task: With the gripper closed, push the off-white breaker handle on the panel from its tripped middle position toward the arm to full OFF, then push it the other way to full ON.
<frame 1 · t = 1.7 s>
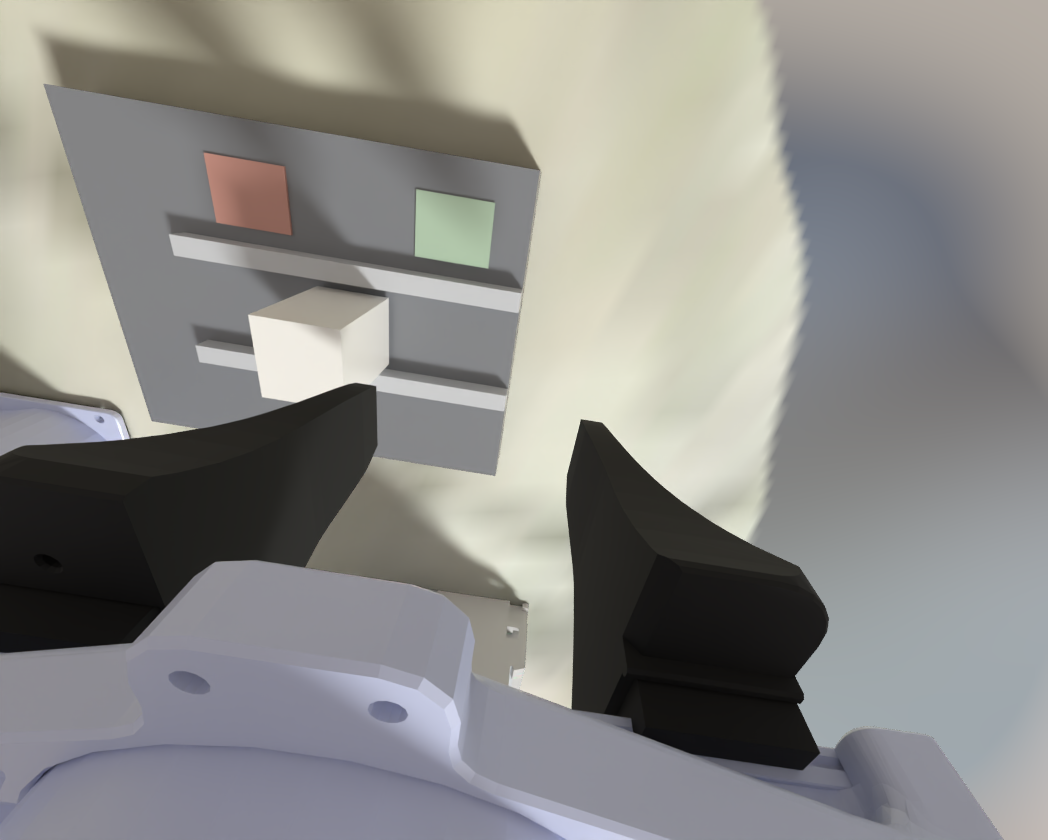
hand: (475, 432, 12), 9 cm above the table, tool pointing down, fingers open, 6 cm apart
circuit breaker: (428, 620, 32), on the table
breaker handle: (330, 343, 16), point 5 cm above the table, slide at 0.0 cm
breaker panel: (333, 306, 20), on the table
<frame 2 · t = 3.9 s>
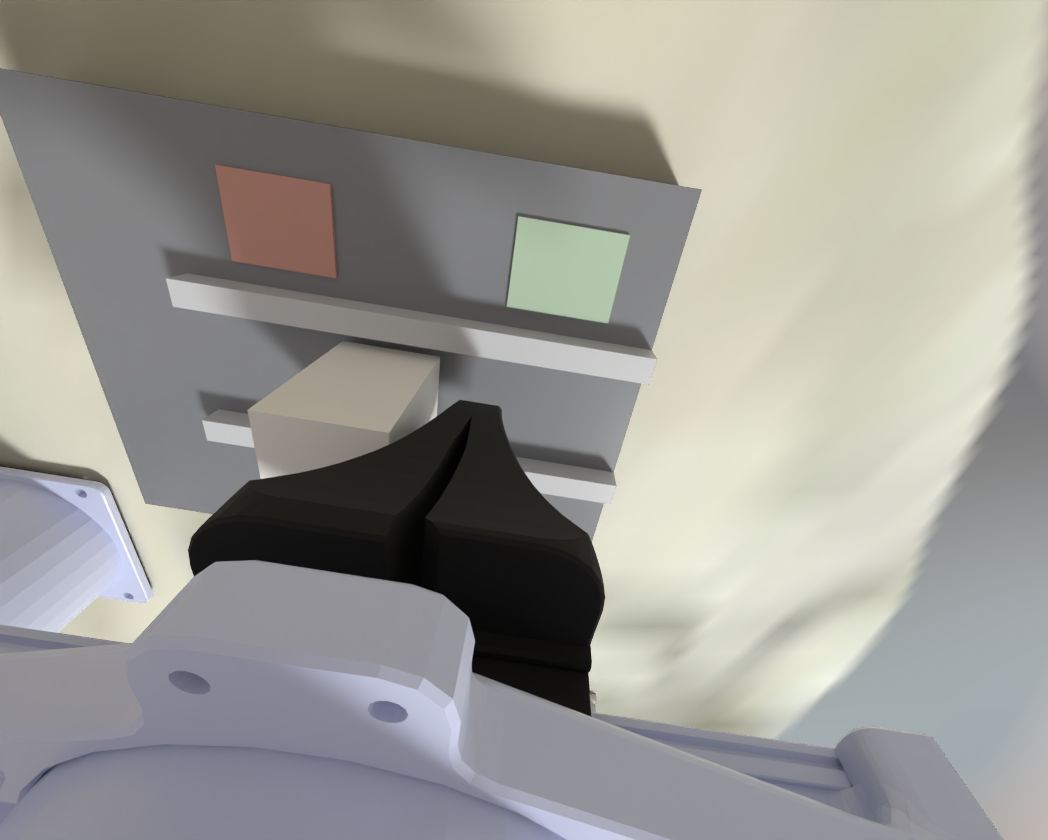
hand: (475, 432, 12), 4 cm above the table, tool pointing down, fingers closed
breaker handle: (363, 427, 12), point 5 cm above the table, slide at -0.8 cm, touching gripper
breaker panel: (380, 361, 16), on the table
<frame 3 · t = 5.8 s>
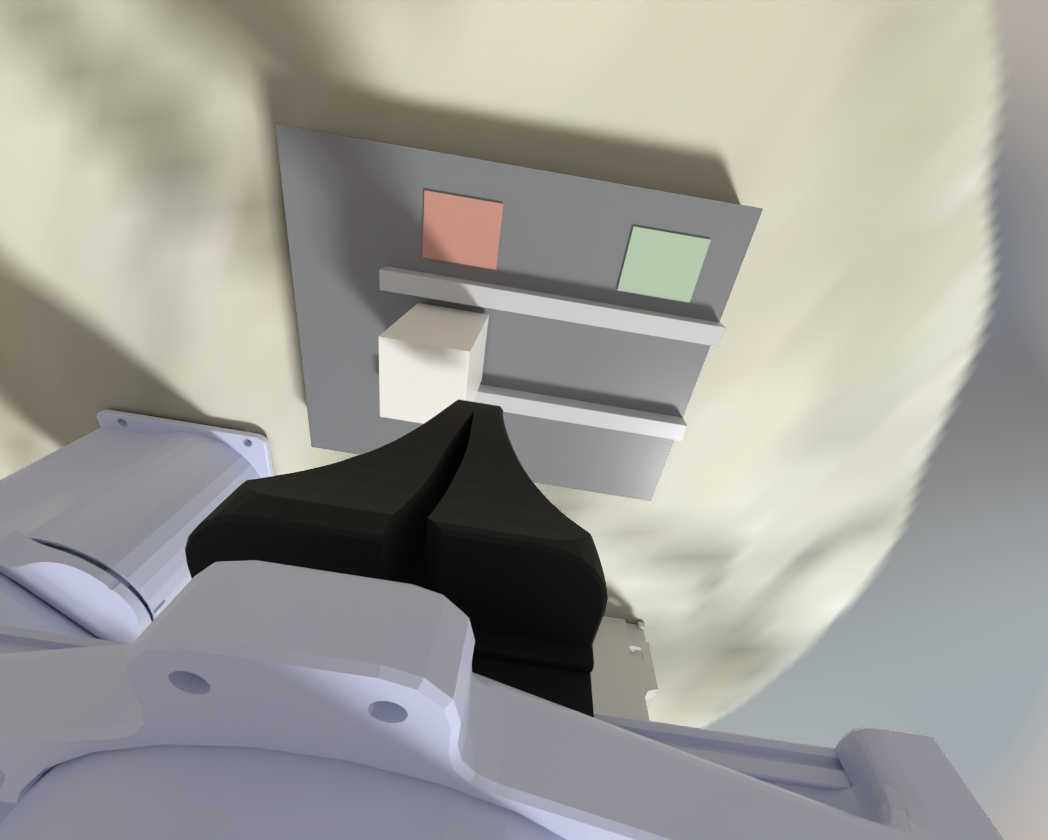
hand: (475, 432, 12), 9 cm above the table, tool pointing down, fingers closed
circuit breaker: (536, 637, 32), on the table
breaker handle: (438, 361, 16), point 5 cm above the table, slide at -4.1 cm
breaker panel: (503, 334, 21), on the table
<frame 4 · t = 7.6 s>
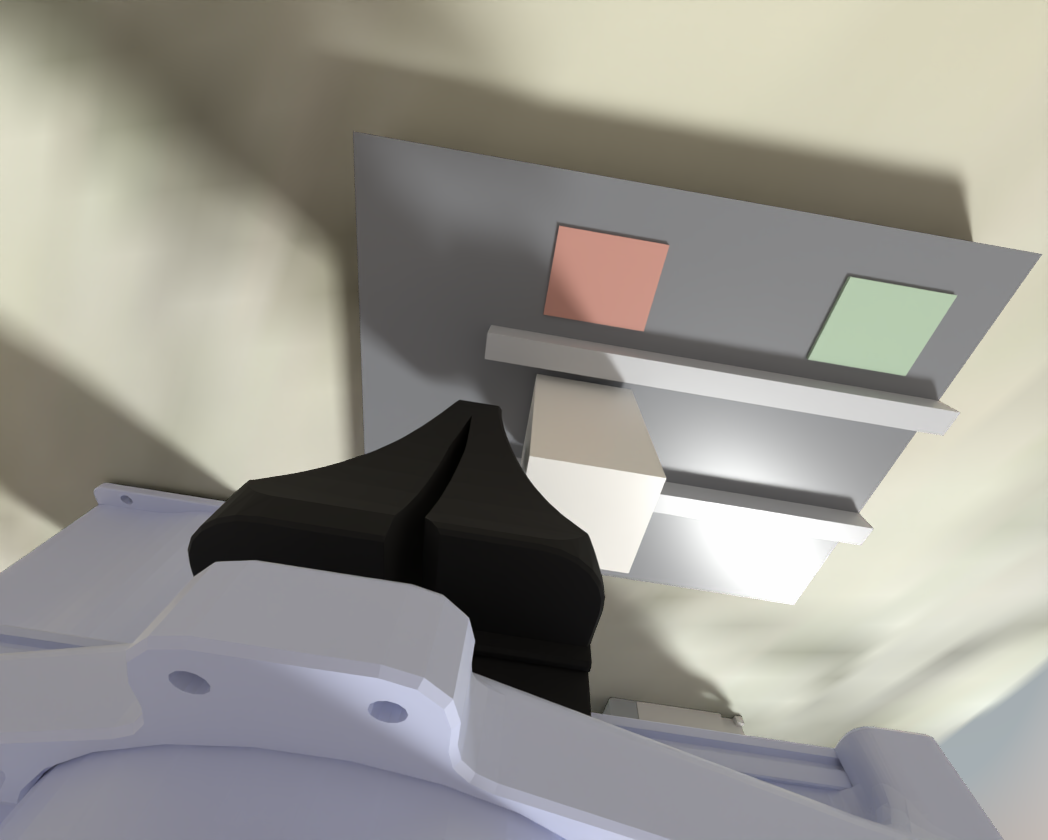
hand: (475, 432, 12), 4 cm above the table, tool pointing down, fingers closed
circuit breaker: (610, 727, 27), on the table
breaker handle: (577, 463, 12), point 5 cm above the table, slide at -3.9 cm, touching gripper
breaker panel: (620, 401, 16), on the table
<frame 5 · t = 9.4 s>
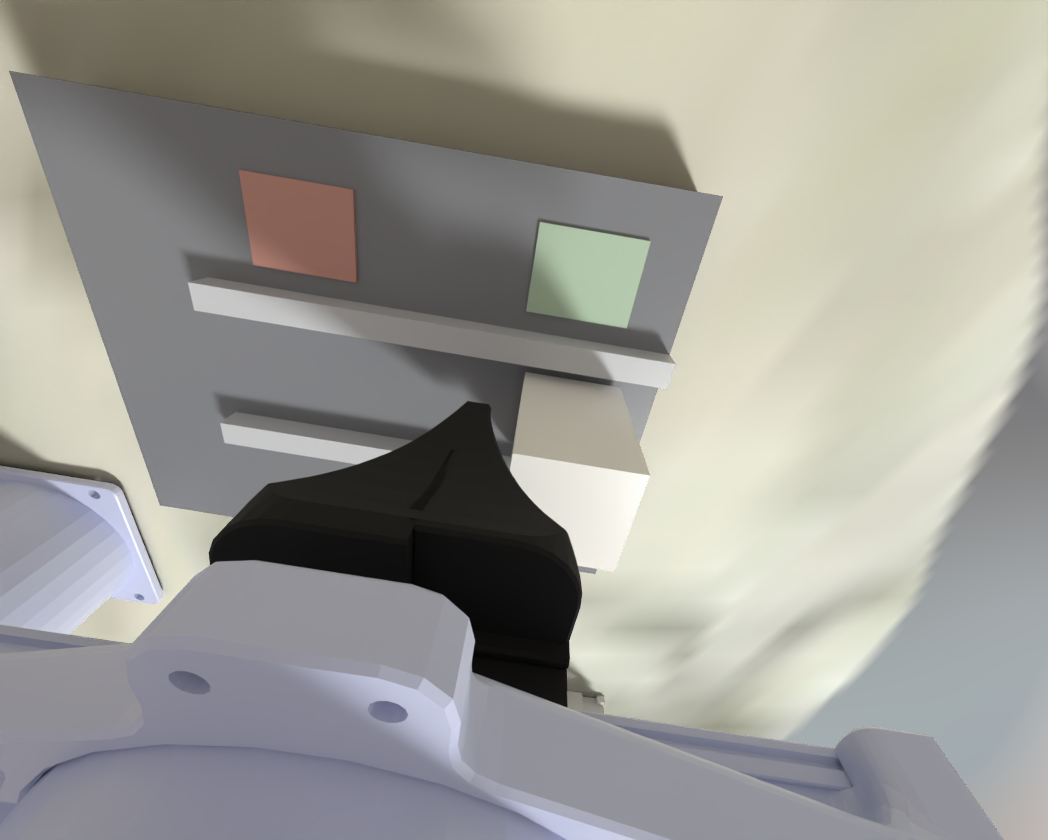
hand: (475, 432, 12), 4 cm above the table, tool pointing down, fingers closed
circuit breaker: (480, 708, 27), on the table
breaker handle: (565, 461, 12), point 5 cm above the table, slide at 4.3 cm, touching gripper
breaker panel: (396, 364, 16), on the table
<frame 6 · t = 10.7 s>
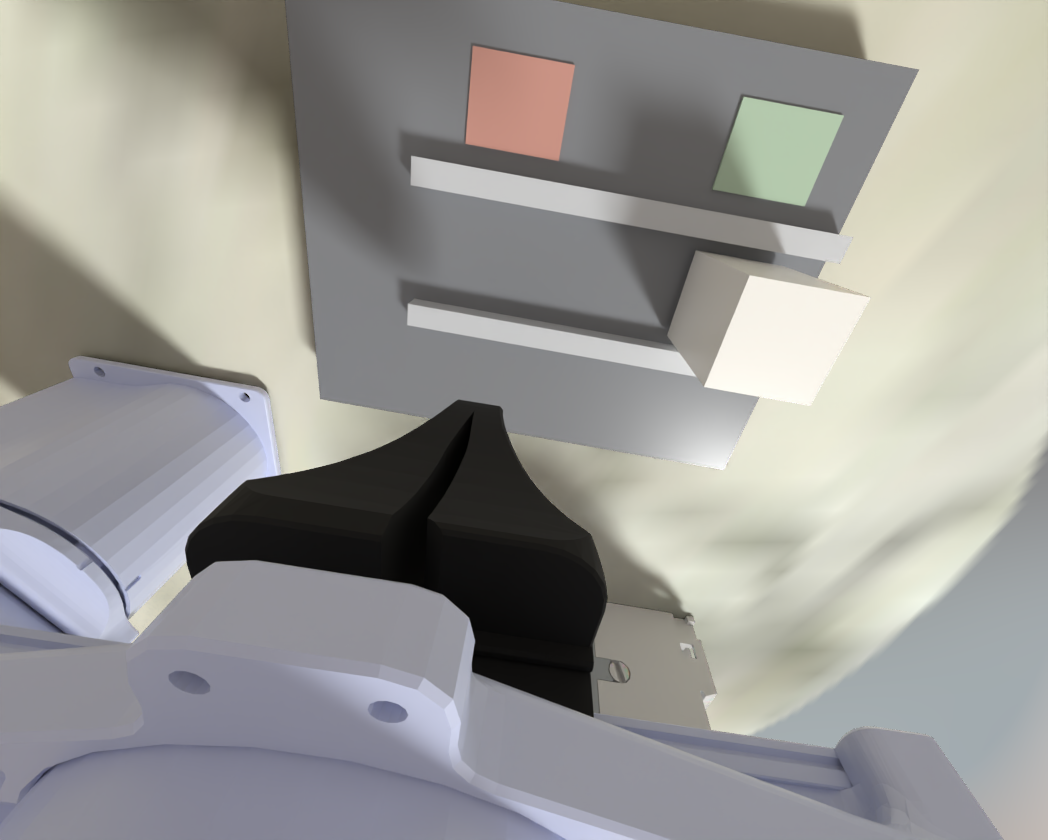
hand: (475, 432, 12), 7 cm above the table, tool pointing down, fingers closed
circuit breaker: (568, 631, 28), on the table
breaker handle: (747, 320, 13), point 5 cm above the table, slide at 4.1 cm
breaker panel: (554, 261, 17), on the table
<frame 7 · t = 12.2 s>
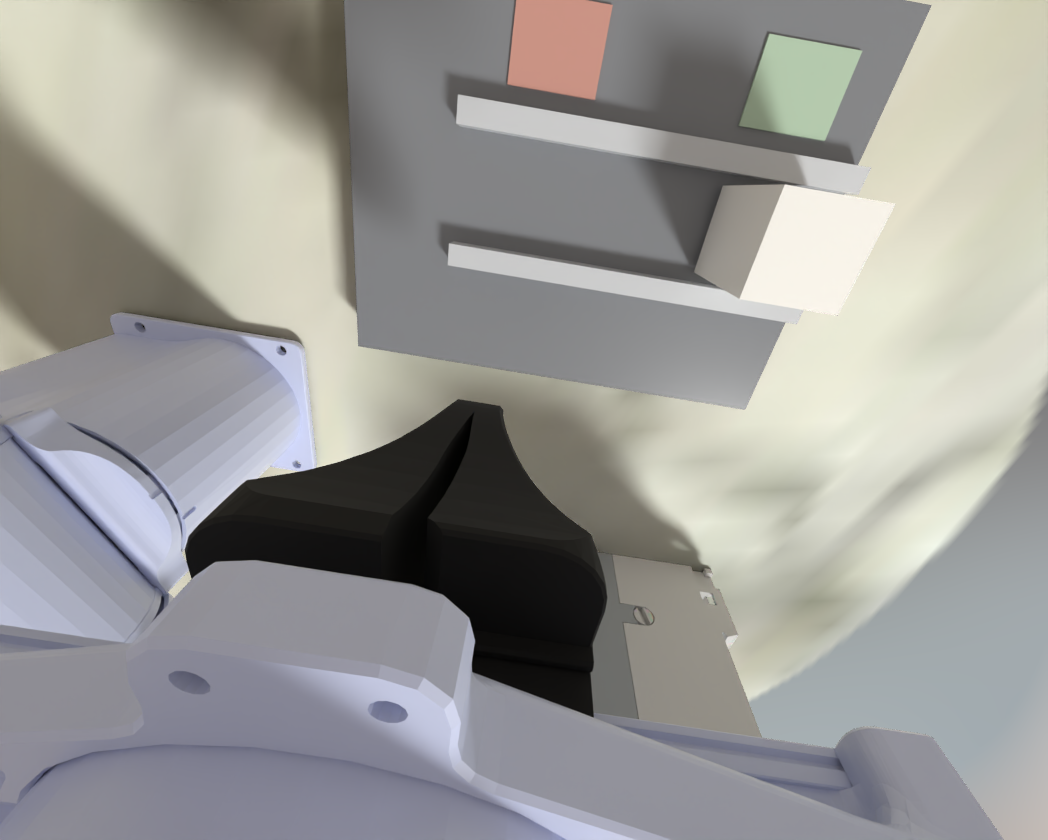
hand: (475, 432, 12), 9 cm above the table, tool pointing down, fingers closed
circuit breaker: (589, 589, 29), on the table
breaker handle: (775, 244, 14), point 5 cm above the table, slide at 4.1 cm
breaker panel: (584, 207, 18), on the table
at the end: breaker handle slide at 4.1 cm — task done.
